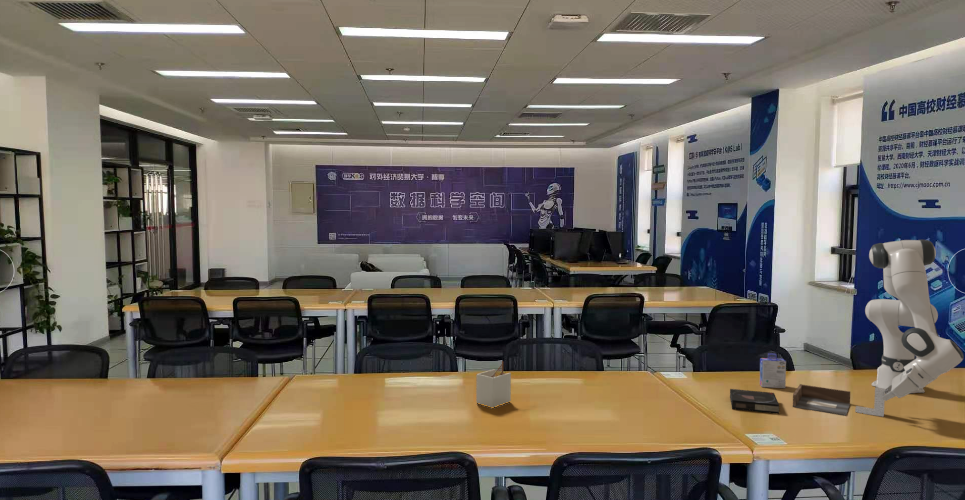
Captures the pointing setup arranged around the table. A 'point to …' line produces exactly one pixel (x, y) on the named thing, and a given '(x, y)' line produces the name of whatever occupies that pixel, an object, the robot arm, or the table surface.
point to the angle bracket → (878, 404)
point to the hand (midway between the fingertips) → (884, 395)
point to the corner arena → (822, 399)
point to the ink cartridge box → (772, 372)
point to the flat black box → (754, 401)
